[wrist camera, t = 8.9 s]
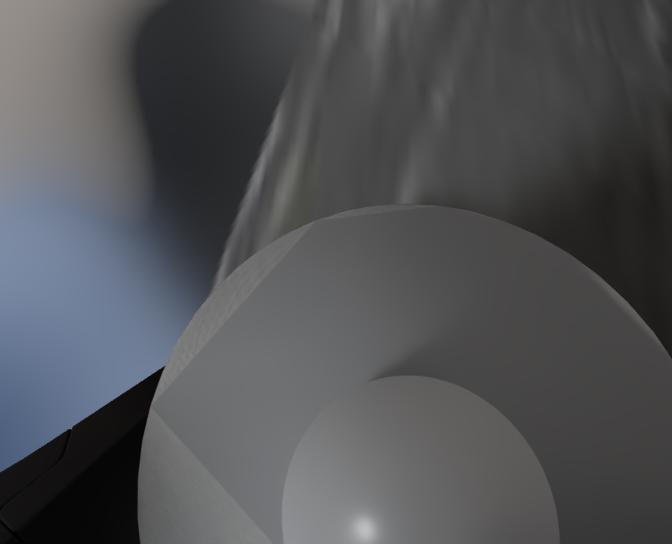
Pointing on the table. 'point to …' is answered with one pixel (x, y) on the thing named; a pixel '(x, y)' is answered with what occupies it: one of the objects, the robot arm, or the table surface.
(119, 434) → the robot arm
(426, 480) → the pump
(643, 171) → the table surface
